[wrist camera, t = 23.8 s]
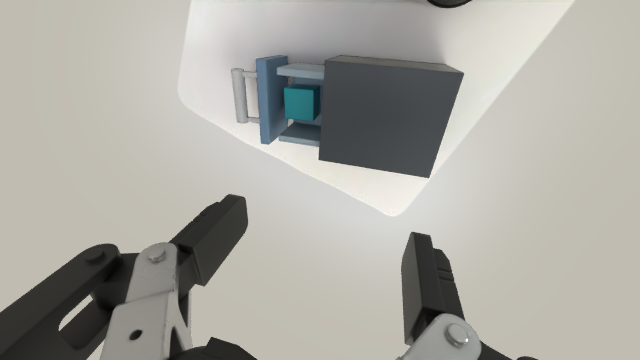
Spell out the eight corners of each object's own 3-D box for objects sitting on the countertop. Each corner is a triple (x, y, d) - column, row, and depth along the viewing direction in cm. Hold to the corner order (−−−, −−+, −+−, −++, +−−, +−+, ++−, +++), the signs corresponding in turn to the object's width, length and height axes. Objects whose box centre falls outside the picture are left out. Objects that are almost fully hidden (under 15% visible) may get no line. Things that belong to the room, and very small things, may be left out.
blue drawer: (253, 123, 41) (228, 138, 34) (247, 52, 35) (217, 55, 29) (358, 138, 38) (351, 158, 31) (369, 63, 32) (364, 69, 26)
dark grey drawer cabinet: (332, 136, 39) (318, 160, 32) (339, 55, 33) (324, 60, 26) (421, 149, 37) (429, 178, 29) (446, 64, 31) (464, 73, 23)
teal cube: (293, 111, 37) (285, 118, 34) (292, 83, 35) (283, 87, 32) (319, 114, 36) (313, 121, 33) (320, 85, 34) (313, 90, 31)
